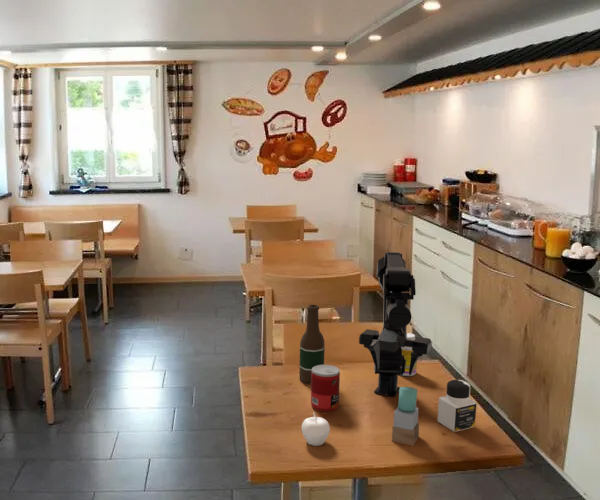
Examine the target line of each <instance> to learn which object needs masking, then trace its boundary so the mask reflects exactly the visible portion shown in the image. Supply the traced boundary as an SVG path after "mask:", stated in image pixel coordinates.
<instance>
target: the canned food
mask: <svg viewBox="0 0 600 500" xmlns="http://www.w3.org/2000/svg"><path fill="white" fill-rule="evenodd" d="M340 370H341V369H340V368H338V367H337V366H336V365H335V366H334V365H332V364H331V365H330V364H324V365H317V366H314V367H313V368H312V374H311V384H310V386H311V387H310V389H311V390H310V392H311V393H310V395H311V396H310V404H311V407H312V408H313V409H314V410H317V411H319V412H333V411H335V410H337V409H338V407H339V404H340V379H341V378H340V377H341V371H340Z"/></svg>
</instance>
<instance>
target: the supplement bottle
mask: <svg viewBox="0 0 600 500" xmlns="http://www.w3.org/2000/svg"><path fill="white" fill-rule="evenodd" d="M406 333H407V337H406V339H408V340H415V339H416V335H415V334H414V333H412V332H410V333H409V332H406ZM401 348H402V355H404V358H405V359H406V365H405V373H403V375H401V376H403V377H413V376H415V375H416V374H417V368H418V364H417V363H418V361H417V362H416V365H415V367H414V369H413V372H412V374H411V375H409V368H410V361H411V353H412V352H413V350H412V347H406V346H405V347H401Z"/></svg>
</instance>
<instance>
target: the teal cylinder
mask: <svg viewBox="0 0 600 500" xmlns="http://www.w3.org/2000/svg"><path fill="white" fill-rule="evenodd" d="M398 393H399V394H398V404H397V407H398V408H399V409H401V410H404V411H415V410H416V407H417V398H418V389H417V388H414V387H410V386H401V387H400V390H399V392H398Z"/></svg>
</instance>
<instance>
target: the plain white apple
mask: <svg viewBox="0 0 600 500" xmlns="http://www.w3.org/2000/svg"><path fill="white" fill-rule="evenodd" d="M312 414H313V416H311V417H307V418H304V420H303V421H302V424H301V432H302V435H303V437H304V440H305V441H306V443H307V444H308V445H311V446H313V447H319V446H322V445H323V444H324V443H325V442H326V440H327V438H328V437H329V434H330V432H331V431H330V428H331V427H330V424H329V422H328V421H327V420H326V419H325V418H323V417H321V416H320V417H319V416H317V415H316V413H315V411H313V412H312Z"/></svg>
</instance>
